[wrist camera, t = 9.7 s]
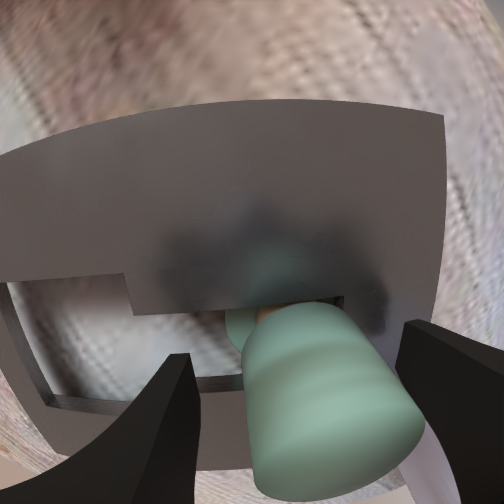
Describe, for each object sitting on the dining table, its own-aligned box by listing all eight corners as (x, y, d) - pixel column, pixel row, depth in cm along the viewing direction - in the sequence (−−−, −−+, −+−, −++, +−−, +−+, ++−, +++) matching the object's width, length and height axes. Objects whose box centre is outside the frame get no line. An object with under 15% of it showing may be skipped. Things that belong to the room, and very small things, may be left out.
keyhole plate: (375, 406, 15) (392, 436, 12) (69, 423, 14) (56, 452, 11) (403, 121, 10) (443, 115, 8) (-17, 175, 9) (-53, 182, 7)
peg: (332, 346, 13) (404, 480, 6) (228, 357, 13) (238, 516, 5) (341, 247, 12) (473, 357, 4) (220, 254, 12) (216, 411, 4)
